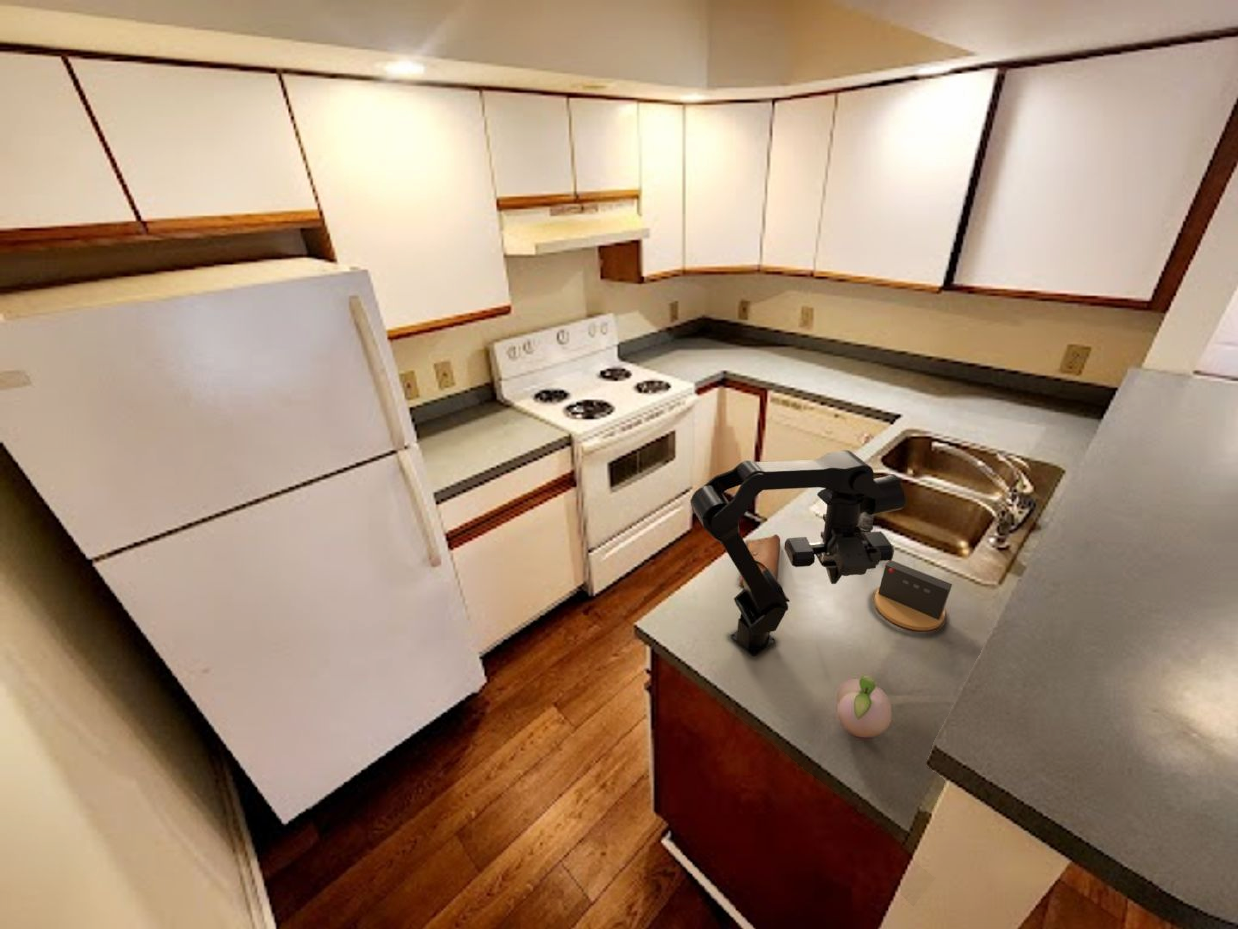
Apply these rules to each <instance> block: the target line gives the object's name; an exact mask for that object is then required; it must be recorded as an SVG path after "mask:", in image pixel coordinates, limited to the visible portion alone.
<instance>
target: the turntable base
mask: <svg viewBox="0 0 1238 929" xmlns="http://www.w3.org/2000/svg"><path fill="white" fill-rule="evenodd" d="M876 591H877V589H876V590H875V591H874V593H873V595H872V598H871V599H872V606H873V607H874V609H875V611H876V612H877V613H878V615H880V617H882V619H884V620H885V621H887V622H888V623H890V624H891V625H893V626H894V627H897V628H900V629H903V630H905V631H909V632H914V633H932V632H935V631H938V630H940V629H941V628H942V627H943V626H944V625H945V624H946V621H947V615H946V614H945V617H944V620H943V622H942V624H941V625H940V626H938V627H937V628H934V629H931V630H912V629H908V628H905V627H902V626H899V625H897V624H895V623H893V622H892V621H890V620H888V619H887V618H886V617H885V616H883V615H882V614H881V613H880V611H879V610H878V609H877V607H876V605H875V601H874V598H875V594H876Z"/></svg>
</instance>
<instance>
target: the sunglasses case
mask: <svg viewBox="0 0 1238 929" xmlns="http://www.w3.org/2000/svg"><path fill="white" fill-rule="evenodd" d="M746 546H747V547H748V549H749V551H750V552H751V554H752V556H753V558H754V559H755V561H756V563H757V565H758V566H759V568H760V570H761V571H762V572H763V571H765V570H766V569H767V568H769V570H770V571H771V572H772V574H773V575H774V577H775V578H776V580H777V581H778V579H779V566H780V554H781V537H780V536H779V535H778V534H774V535H772V536H771V535H770V536H767V537H763V538H758V539H753V540H747V541H746ZM743 582H744V580H743V577H742V576H741V575H740V578H739V582H738V584H739V585H741V587H744V585H743Z"/></svg>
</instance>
